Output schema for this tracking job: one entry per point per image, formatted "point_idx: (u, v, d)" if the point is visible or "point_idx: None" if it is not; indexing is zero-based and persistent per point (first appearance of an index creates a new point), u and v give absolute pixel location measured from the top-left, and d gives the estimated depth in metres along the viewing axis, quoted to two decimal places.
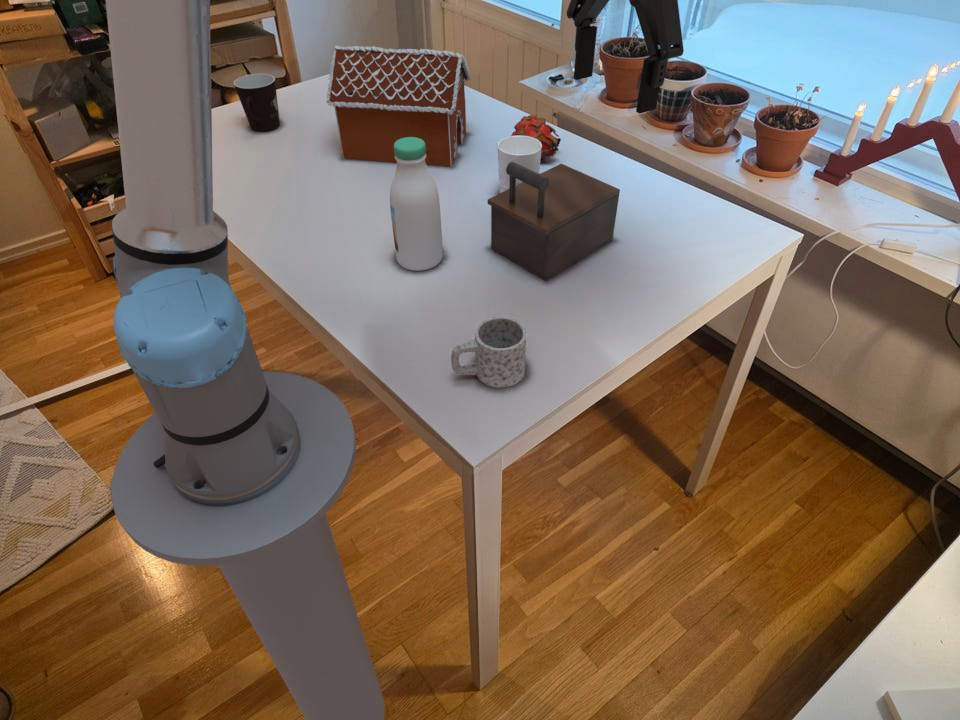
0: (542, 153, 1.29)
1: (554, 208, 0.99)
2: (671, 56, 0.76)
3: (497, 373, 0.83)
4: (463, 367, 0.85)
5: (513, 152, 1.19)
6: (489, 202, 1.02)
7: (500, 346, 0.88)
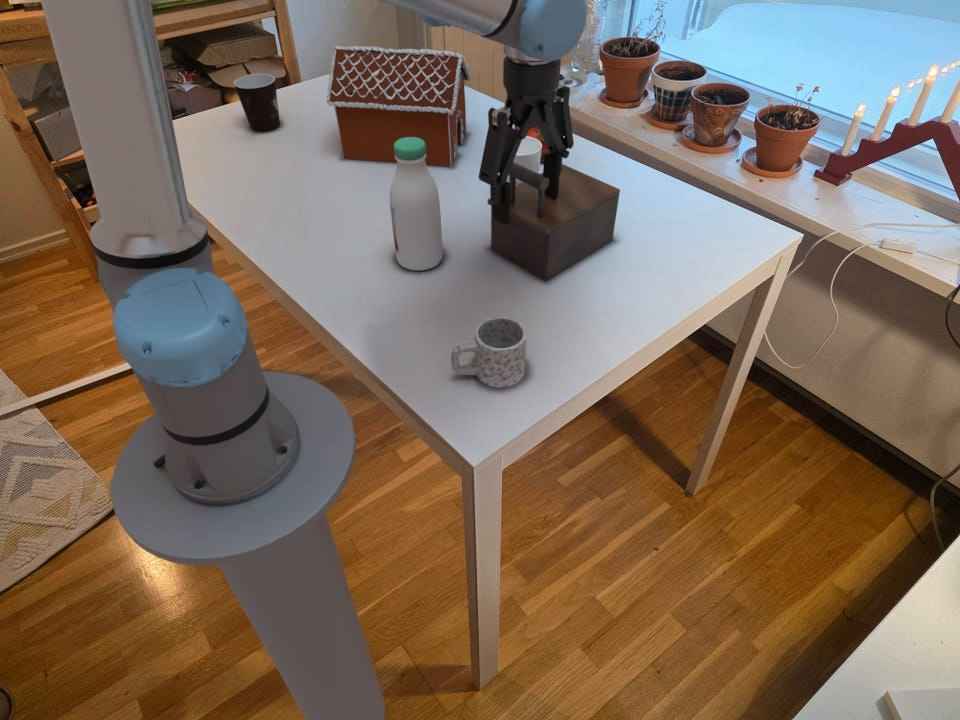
0: (542, 153, 1.29)
1: (554, 208, 0.99)
2: (482, 180, 0.90)
3: (497, 373, 0.83)
4: (463, 367, 0.85)
5: None
6: (489, 202, 1.02)
7: (500, 346, 0.88)
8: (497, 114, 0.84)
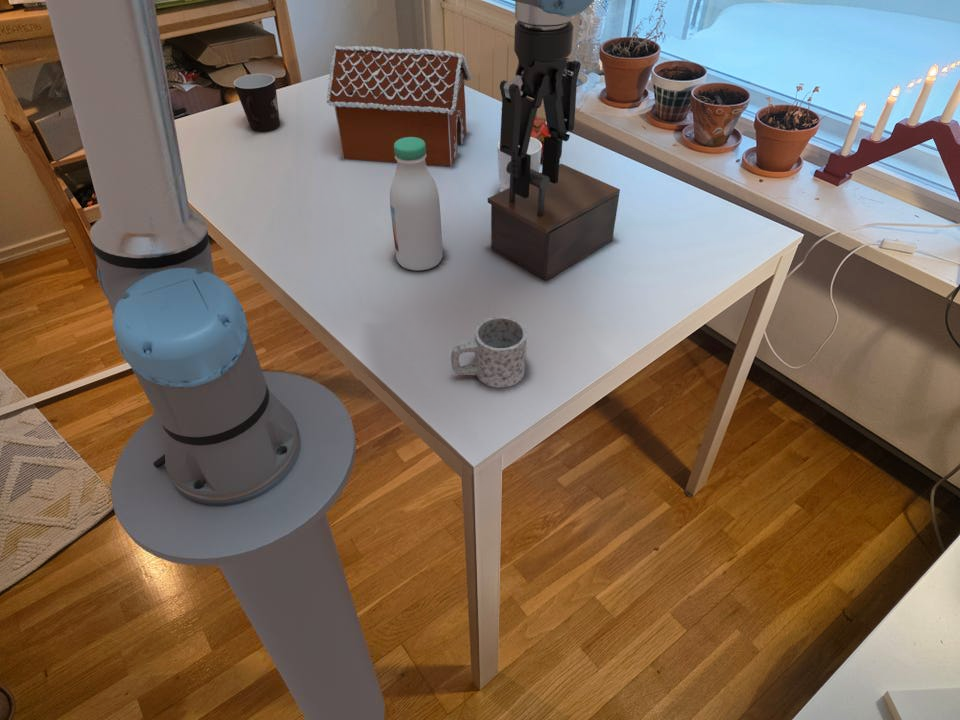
0: (542, 153, 1.29)
1: (554, 207, 0.99)
2: (503, 151, 0.90)
3: (497, 373, 0.83)
4: (463, 367, 0.85)
5: None
6: (489, 201, 1.02)
7: (500, 346, 0.88)
8: (508, 87, 0.83)
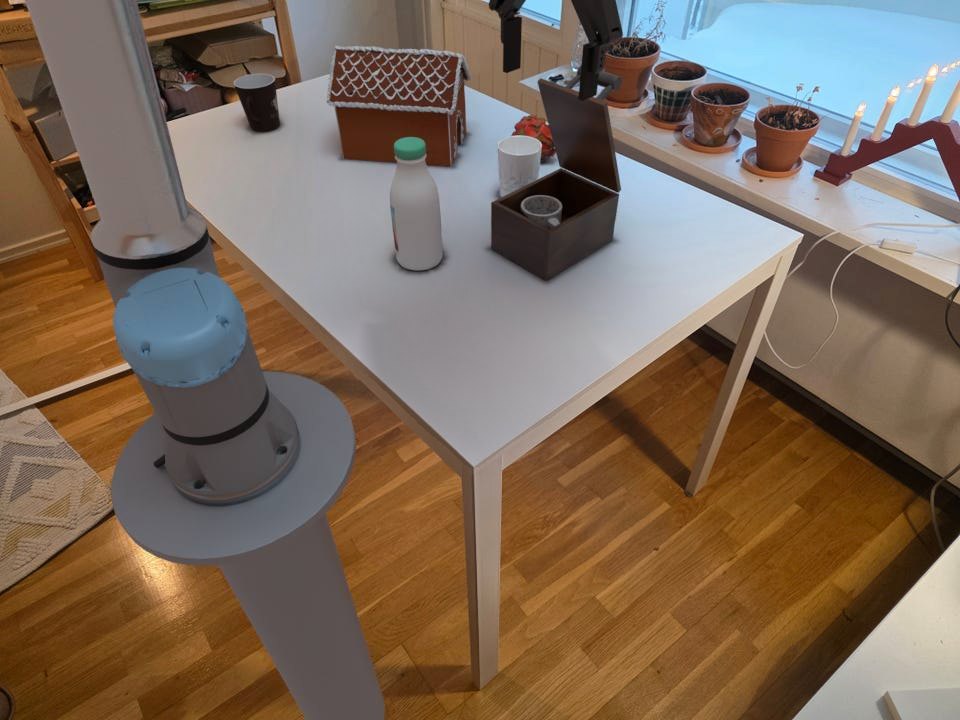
0: (542, 153, 1.29)
1: None
2: (612, 40, 0.75)
3: None
4: None
5: (513, 152, 1.19)
6: (541, 80, 0.96)
7: None
8: None
